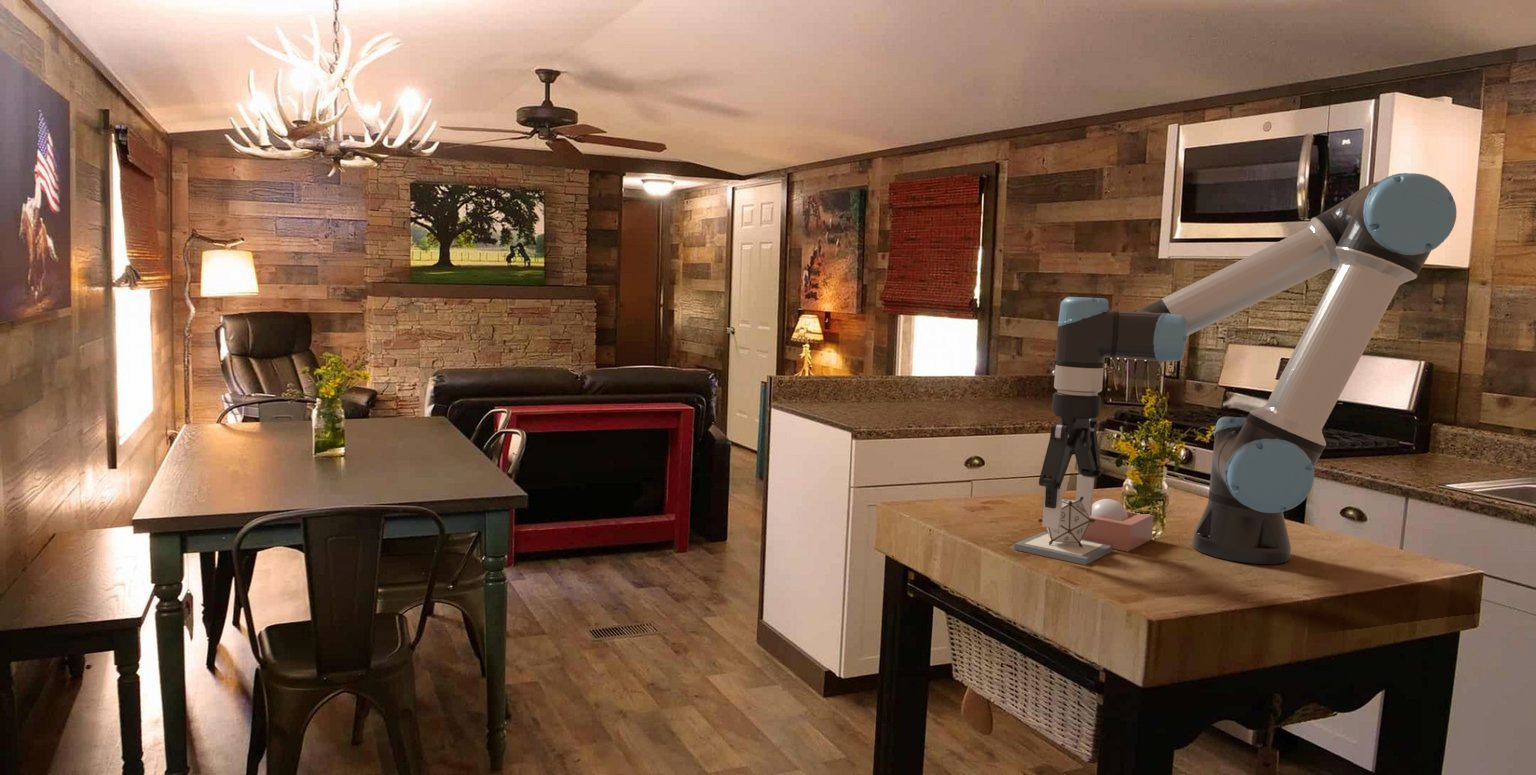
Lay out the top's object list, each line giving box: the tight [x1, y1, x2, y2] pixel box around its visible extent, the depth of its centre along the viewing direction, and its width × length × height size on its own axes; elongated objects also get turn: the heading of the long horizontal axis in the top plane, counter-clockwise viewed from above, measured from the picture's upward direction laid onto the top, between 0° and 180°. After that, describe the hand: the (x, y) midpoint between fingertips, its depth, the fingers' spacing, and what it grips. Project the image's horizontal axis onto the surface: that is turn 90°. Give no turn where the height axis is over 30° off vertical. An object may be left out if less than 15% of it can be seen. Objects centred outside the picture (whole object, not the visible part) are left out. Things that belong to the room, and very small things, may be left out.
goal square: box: [1013, 531, 1113, 566], centre depth 173 cm, size 12×12×1 cm
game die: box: [1037, 497, 1096, 548], centre depth 172 cm, size 9×8×10 cm
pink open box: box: [1082, 502, 1154, 553], centre depth 183 cm, size 12×12×4 cm
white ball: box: [1092, 498, 1128, 521], centre depth 182 cm, size 7×7×7 cm
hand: (1067, 520), depth 172 cm, fingers open, 13 cm apart
